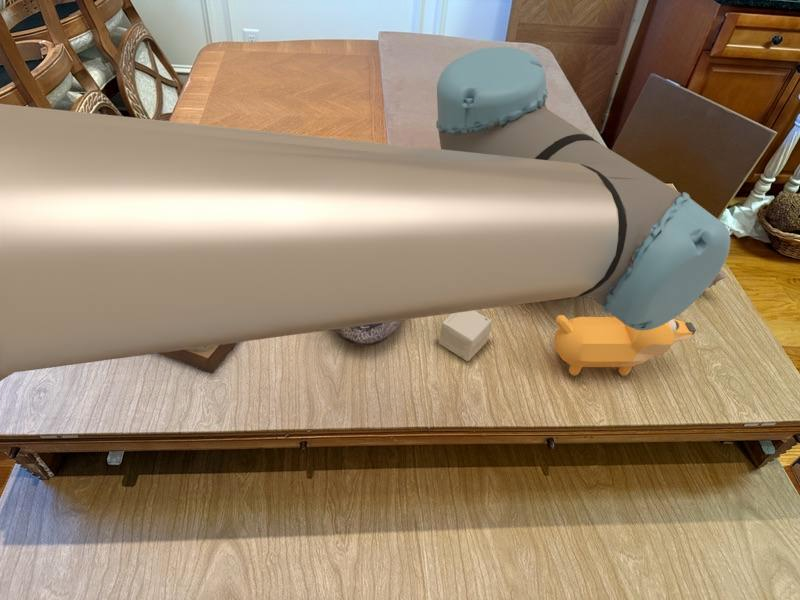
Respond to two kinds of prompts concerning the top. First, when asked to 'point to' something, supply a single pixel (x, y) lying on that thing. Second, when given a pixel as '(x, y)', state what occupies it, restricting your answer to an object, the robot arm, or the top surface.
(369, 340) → the dish
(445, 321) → the small box
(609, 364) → the dog
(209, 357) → the cup rack
